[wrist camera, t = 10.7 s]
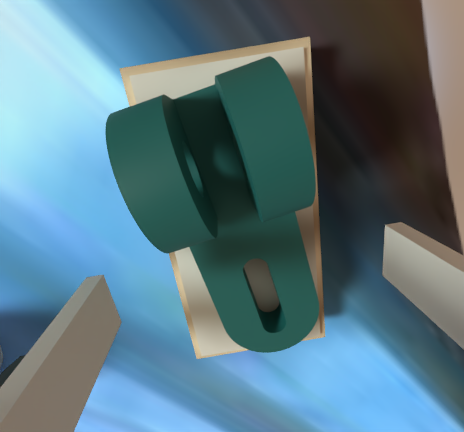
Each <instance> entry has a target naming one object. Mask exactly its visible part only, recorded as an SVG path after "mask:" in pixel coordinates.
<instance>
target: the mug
mask: <svg viewBox="0 0 464 432" xmlns="http://www.w3.org/2000/svg"><path fill="white" fill-rule="evenodd" d="M2 363H3V352H2V349H1V346H0V368H1V366H2Z"/></svg>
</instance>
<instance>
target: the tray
mask: <svg viewBox="0 0 464 432" xmlns="http://www.w3.org/2000/svg"><path fill="white" fill-rule="evenodd" d="M268 56H270V57H273V58H274V59H275V60H276V61H277V62H278V63H279V64H280V65H281V67H282V68H283V70H284V72H285V73H286V75H287V77H288V79H289V81H290V83H291V85H292V87H293V90H294V92H295V95H296V97H297V100H298V103H299V105H300V108H301V111H302V114H303V117H304V121H305V124H306V128H307V132H308V136H309V140H310V144H311V149H312V154H313V160H314V167H315V177H316V193H315V200H314V203H313V204H312V206H310V207H307V208H304V209H301V210H298V211H295V213H296V217H297V221H298V224H299V228H300V232H301V236H302V240H303V243H304V247H305V251H306V255H307V258H308V262H309V266H310V270H311V274H312V277H313V281H314V285H315V289H316V292H317V296H318V300H319V315H318V319H317V322H316V324H315V326H314V328H313V329H312V330H311V332H310V333H309V334H308V335H307V336H306V337H305V338H304V339H303V340H302V341H304V340H310V339H316V338H322V337H325V324H324V304H323V284H322V264H321V245H320V225H319V205H318V186H317V166H316V146H315V127H314V107H313V87H312V67H311V48H310V37H306V38H300V39H294V40H288V41H282V42H276V43H270V44H264V45H258V46H252V47H246V48H240V49H234V50H228V51H222V52H216V53H210V54H204V55H197V56H191V57H185V58H179V59H173V60H167V61H161V62H155V63H149V64H143V65H137V66H131V67H125V68H120V72H121V76H122V79H123V83H124V87H125V91H126V94H127V98H128V102H129V106H133V105H136V104H139V103H141V102H144V101H147V100H150V99H152V98H155V97H158V96H161V95H163V94H164V95H166V96H168V97H170V98H171V99H175V98H178V97H181V96H184V95H187V94H189V93H192V92H195V91H198V90H200V89H203V88H206V87H209V86H211V85H214V84H215V76H216V75H218V74H221V73H224V72H227V71H229V70H232V69H235V68H238V67H240V66H243V65H246V64H249V63H251V62H254V61H257V60H260V59H262V58H265V57H268ZM169 256H170V260H171V263H172V267H173V271H174V275H175V278H176V282H177V286H178V290H179V293H180V297H181V301H182V305H183V309H184V312H185V316H186V320H187V324H188V327H189V331H190V335H191V339H192V342H193V346H194V350H195V354H196V357H197V359H200V358H206V357H211V356H217V355H223V354H229V353H235V352H240V351H246V350H248V349H246V348H243V347H241V346H240V345H238V344H237V343H235V342H234V341H233V340H232V339H231V338H230V337H229V336H228V334H227V333H226V331H225V329H224V326H223V324H222V322H221V319H220V317H219V315H218V312H217V310H216V308H215V306H214V303H213V301H212V299H211V296H210V294H209V292H208V289H207V287H206V285H205V282H204V280H203V278H202V275H201V273H200V271H199V269H198V266H197V264H196V262H195V259H194V257H193V255H192V252H191V250H190V248H189V247H187V248H184V249H181V250H178V251H175V252H172V253H169ZM244 269H245V272H246V274H247V277H248V280H249V283H250V285H251V288H252V291H253V294H254V296H255V299H256V302H257V305H258V307H259V309H260V310H262V311H264V312H271V311H273V310H275V309H276V308H277V307H278V305H279V299H278V296H277V293H276V290H275V287H274V284H273V280H272V277H271V274H270V271H269V268H268V265H267V263H266V262H265V261H264V260H262V259H252V260H249V261H248V262H247V263H246V264H245V265H244Z"/></svg>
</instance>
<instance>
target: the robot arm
mask: <svg viewBox="0 0 464 432" xmlns="http://www.w3.org/2000/svg"><path fill="white" fill-rule="evenodd" d="M383 276H384V277H385V278H386V279H387V280H388V281H389V282H390V283H391V284H393V285H394V286H395V287H396V288H397V289H398V290H399V291H400V292H401V293H402V294H404V295H405V296H406V297H407V298H408V299H409V300H410V301H411V302H412V303H413V304H415V305H416V306H417V307H418V308H419V309H420V310H421V311H422V312H423V313H424V314H426V315H427V316H428V317H429V318H430V319H431V320H432V321H433V322H434V323H435V324H437V325H438V326H439V327H440V328H441V329H442V330H443V331H444V332H445V333H446V334H448V335H449V336H450V337H451V338H452V339H453V340H454V341H455V342H456V343H457V344H459V345H460V346H461V347H462V348H463V349H464V256H463V255H461V254H459V253H457V252H456V251H454V250H452V249H450V248H448V247H446V246H445V245H443V244H441V243H439V242H437V241H435V240H433V239H432V238H430V237H428V236H426V235H424V234H422V233H421V232H419V231H417V230H415V229H413V228H411V227H409V226H408V225H406V224H404V223H402V222H399V223H393V224H387V225H385V236H384V256H383ZM120 324H121V320H120V317H119V314H118V312H117V309H116V307H115V304H114V301H113V299H112V296H111V293H110V291H109V288H108V286H107V283H106V280H105V278H104V275H98V276H93V277H87V278H86V279H85V280H84V281H83V283H82V284H81V285H80V287H79V288H78V289H77V290H76V292H75V293H74V294H73V295H72V297H71V298H70V299H69V301H68V302H67V303H66V304H65V306H64V307H63V308H62V310H61V311H60V312H59V313H58V315H57V316H56V317H55V319H54V320H53V321H52V322H51V324H50V325H49V326H48V327H47V329H46V330H45V331H44V333H43V334H42V335H41V336H40V338H39V339H38V340H37V342H36V343H35V344H34V345H33V347H32V348H31V349H30V351H29V352H28V353H27V354H26V355H24V356H20V357H19V358H18V359H17V360H16V361H14V362H13V363H12V364H11V365H10V366H9V367H7V368H6V369H5V370H4V371H3V372H2V373H1V375H0V432H74V430H75V427H76V425H77V423H78V420H79V418H80V416H81V414H82V411H83V409H84V407H85V404H86V402H87V400H88V398H89V395H90V393H91V391H92V388H93V386H94V384H95V382H96V379H97V377H98V375H99V372H100V370H101V368H102V366H103V363H104V361H105V359H106V356H107V354H108V352H109V350H110V347H111V345H112V343H113V340H114V338H115V336H116V334H117V331H118V329H119V327H120Z"/></svg>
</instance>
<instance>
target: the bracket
mask: <svg viewBox="0 0 464 432" xmlns="http://www.w3.org/2000/svg"><path fill="white" fill-rule="evenodd" d="M106 143H107V149H108V154H109V159H110V163H111V166H112V169H113V173H114V176H115V179H116V181H117V184H118V187H119V189H120V192H121V194H122V196H123V198H124V201H125V203H126V205H127V207H128V209H129V211H130V213H131V214H132V216H133V218H134V220H135V221H136V223H137V225H138V226H139V228H140V229H141V231H142V232H143V234H144V235H145V236H146V237H147V239H148V240H149V241H150V242H151V243H152V244H153V245H154V246H155V247H156V248H157V249H159V250H160V251H162V252H164V253H172V252H175V251H178V250H181V249H184V248H187V247H189V248H190V250H191V252H192V255H193V257H194V259H195V262H196V264H197V266H198V269H199V271H200V273H201V275H202V278H203V280H204V282H205V285H206V287H207V289H208V292H209V294H210V296H211V299H212V301H213V303H214V306H215V308H216V310H217V312H218V315H219V317H220V319H221V322H222V324H223V326H224V329H225V331H226V333H227V334H228V336H229V337H230V338H231V339H232V340H233V341H234V342H235V343H237V344H238V345H240V346H241V347H243V348H246V349H248V350H251V351H256V352H276V351H281V350H284V349H287V348H290V347H292V346H294V345H296V344H297V343H299V342H300V341H302V340H303V339H304V338H305V337H306V336H307V335H308V334H309V333H310V332H311V330H312V329H313V328H314V326H315V324H316V322H317V319H318V315H319V300H318V296H317V292H316V289H315V285H314V281H313V277H312V274H311V270H310V266H309V262H308V258H307V255H306V251H305V247H304V243H303V240H302V236H301V232H300V228H299V224H298V221H297V217H296V213H295V211H298V210H301V209H304V208H307V207H310V206H312V204H313V203H314V200H315V193H316V177H315V167H314V160H313V154H312V149H311V144H310V140H309V136H308V132H307V128H306V124H305V121H304V117H303V114H302V111H301V108H300V105H299V103H298V100H297V97H296V95H295V92H294V90H293V87H292V85H291V83H290V81H289V79H288V77H287V75H286V73H285V72H284V70H283V68H282V67H281V65H280V64H279V63H278V62H277V61H276V60H275V59H274V58H273V57H270V56H268V57H265V58H262V59H260V60H257V61H254V62H251V63H249V64H246V65H243V66H240V67H238V68H235V69H232V70H229V71H227V72H224V73H221V74H218V75H216V76H215V84H214V85H211V86H209V87H206V88H203V89H200V90H198V91H195V92H192V93H189V94H187V95H184V96H181V97H178V98H175V99H171V98H170V97H168V96H166V95H164V94H163V95H161V96H158V97H155V98H152V99H150V100H147V101H144V102H141V103H139V104H136V105H133V106H130V107H128V108H125V109H122V110H119V111H117V112H114V113H112V114H110V115H109V117H108V119H107V122H106ZM252 259H262V260H264V261H265V262H266V263H267V265H268V268H269V271H270V274H271V277H272V280H273V284H274V287H275V290H276V293H277V296H278V299H279V305H278V307H277V308H276V309H275V310H273V311H271V312H264V311H262V310H260V309H259V307H258V305H257V302H256V299H255V296H254V294H253V291H252V288H251V285H250V283H249V280H248V277H247V274H246V272H245V269H244V265H245V264H246V263H247V262H248V261H249V260H252Z"/></svg>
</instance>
